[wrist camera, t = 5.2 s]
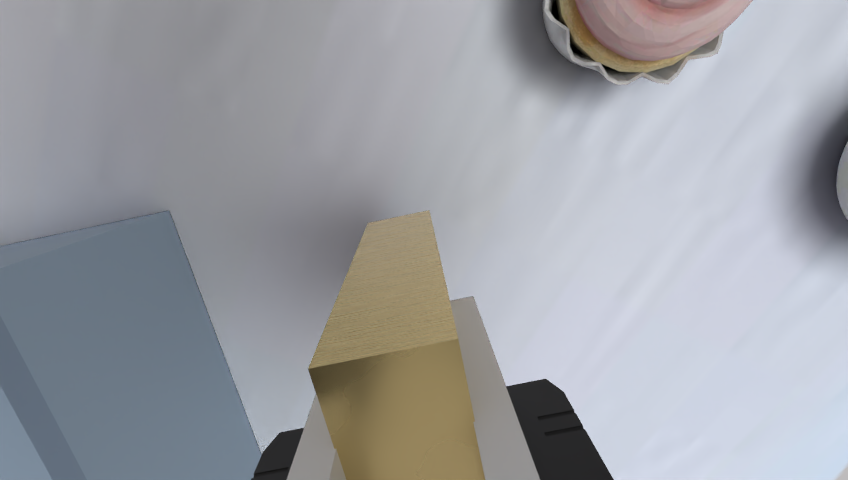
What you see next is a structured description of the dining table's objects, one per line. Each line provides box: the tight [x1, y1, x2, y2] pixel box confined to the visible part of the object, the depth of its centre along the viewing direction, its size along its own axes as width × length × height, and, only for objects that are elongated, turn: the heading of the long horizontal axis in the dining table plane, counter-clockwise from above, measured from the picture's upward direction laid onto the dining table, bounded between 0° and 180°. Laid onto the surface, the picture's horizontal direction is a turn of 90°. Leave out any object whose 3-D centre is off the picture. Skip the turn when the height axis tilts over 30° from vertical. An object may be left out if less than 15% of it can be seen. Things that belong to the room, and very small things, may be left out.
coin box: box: [0, 211, 262, 480], centre depth 20 cm, size 18×14×12 cm
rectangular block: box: [308, 210, 485, 480], centre depth 12 cm, size 6×2×10 cm, turn 12°
